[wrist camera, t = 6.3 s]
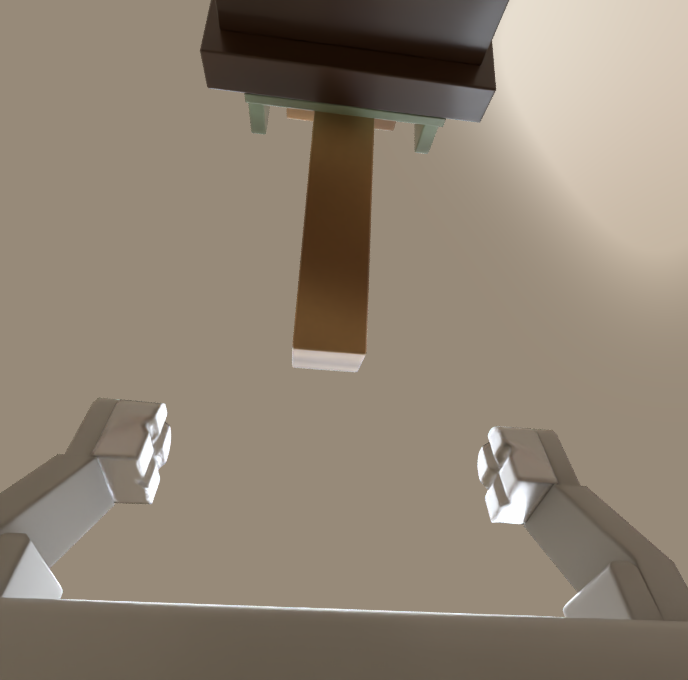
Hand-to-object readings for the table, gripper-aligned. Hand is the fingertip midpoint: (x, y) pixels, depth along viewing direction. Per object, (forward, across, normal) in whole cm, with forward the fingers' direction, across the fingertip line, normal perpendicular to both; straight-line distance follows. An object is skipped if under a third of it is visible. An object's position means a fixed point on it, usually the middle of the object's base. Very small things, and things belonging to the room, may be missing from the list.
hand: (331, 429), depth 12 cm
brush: (+12, 0, -5) cm, 13 cm away
